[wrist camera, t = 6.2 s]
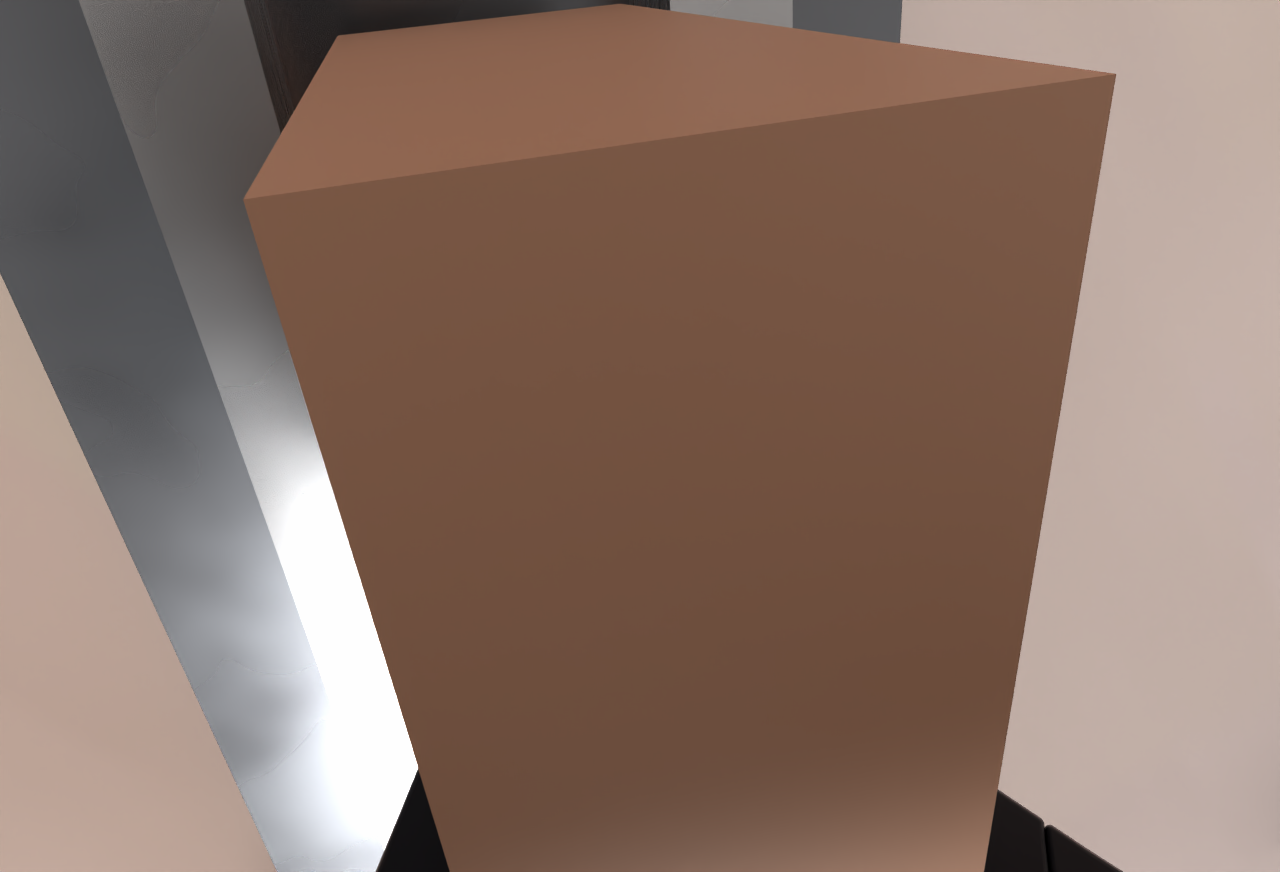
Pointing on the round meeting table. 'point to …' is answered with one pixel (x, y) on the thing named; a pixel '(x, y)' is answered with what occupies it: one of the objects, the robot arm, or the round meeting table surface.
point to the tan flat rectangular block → (688, 420)
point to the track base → (225, 363)
